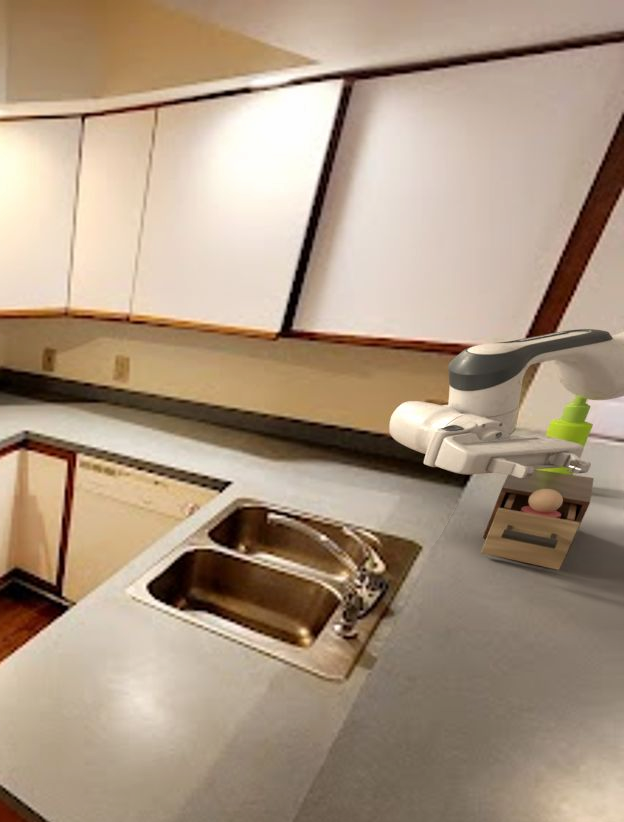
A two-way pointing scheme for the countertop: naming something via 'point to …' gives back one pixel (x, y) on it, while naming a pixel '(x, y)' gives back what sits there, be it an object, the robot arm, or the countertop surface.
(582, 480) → the cabinet
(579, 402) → the soap dispenser
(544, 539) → the drawer
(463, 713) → the countertop surface
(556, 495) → the doll
